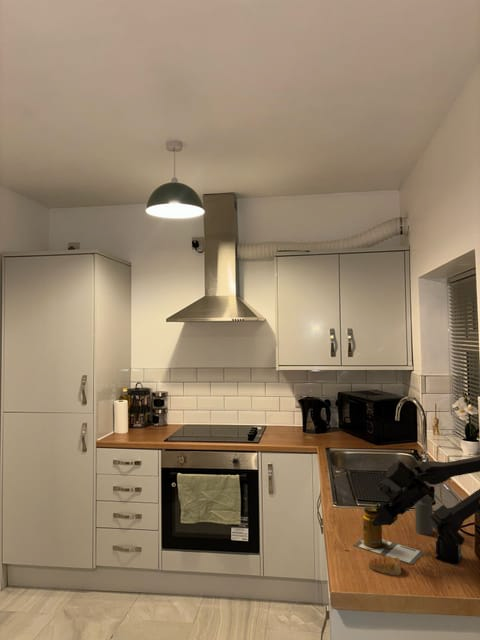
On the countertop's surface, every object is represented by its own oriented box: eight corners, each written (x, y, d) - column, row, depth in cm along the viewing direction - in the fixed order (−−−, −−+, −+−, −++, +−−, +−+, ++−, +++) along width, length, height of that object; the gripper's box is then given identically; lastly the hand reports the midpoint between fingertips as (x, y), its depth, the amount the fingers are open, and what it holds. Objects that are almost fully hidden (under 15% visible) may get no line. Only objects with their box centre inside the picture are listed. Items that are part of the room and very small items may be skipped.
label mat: (424, 552, 150) (424, 551, 150) (412, 565, 141) (412, 564, 141) (367, 534, 163) (367, 534, 163) (352, 545, 154) (352, 545, 154)
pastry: (369, 573, 137) (368, 560, 137) (368, 562, 144) (368, 550, 144) (402, 577, 135) (401, 564, 135) (399, 566, 141) (399, 553, 142)
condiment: (359, 540, 158) (359, 505, 159) (383, 538, 159) (382, 504, 159) (367, 550, 151) (366, 513, 151) (392, 548, 152) (391, 512, 152)
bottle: (435, 531, 165) (434, 489, 166) (429, 536, 161) (428, 493, 161) (419, 526, 169) (418, 485, 170) (412, 531, 165) (412, 489, 165)
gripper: (403, 466, 158) (373, 492, 165) (382, 480, 144) (350, 507, 151) (427, 495, 153) (395, 519, 160) (407, 511, 139) (373, 538, 146)
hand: (378, 520), depth 154 cm, fingers open, 9 cm apart
